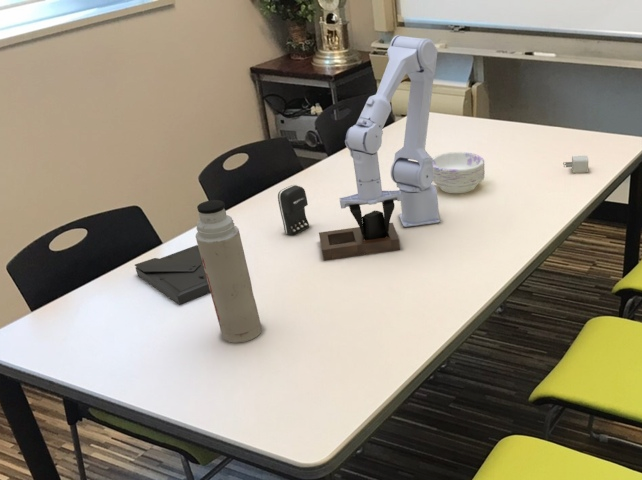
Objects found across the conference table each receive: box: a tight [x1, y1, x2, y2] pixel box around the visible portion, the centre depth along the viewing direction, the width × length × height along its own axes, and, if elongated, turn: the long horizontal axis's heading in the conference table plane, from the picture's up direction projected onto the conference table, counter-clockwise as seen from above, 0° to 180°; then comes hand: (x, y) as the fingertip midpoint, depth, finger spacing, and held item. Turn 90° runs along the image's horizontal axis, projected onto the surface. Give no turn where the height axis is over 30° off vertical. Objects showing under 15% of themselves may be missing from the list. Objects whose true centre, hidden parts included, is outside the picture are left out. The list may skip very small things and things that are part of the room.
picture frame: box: [134, 244, 211, 305], centre depth 184 cm, size 16×3×21 cm
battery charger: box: [277, 184, 310, 236], centre depth 200 cm, size 7×4×11 cm, turn 146°
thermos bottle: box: [195, 199, 263, 344], centre depth 155 cm, size 8×8×28 cm
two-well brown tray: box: [318, 222, 401, 261], centre depth 194 cm, size 18×10×3 cm, turn 104°
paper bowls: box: [432, 151, 486, 194], centre depth 221 cm, size 15×15×8 cm
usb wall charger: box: [562, 155, 589, 174], centre depth 229 cm, size 4×7×4 cm, turn 89°
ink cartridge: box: [362, 210, 386, 240], centre depth 193 cm, size 5×2×8 cm, turn 137°
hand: (374, 231), depth 194 cm, fingers closed on ink cartridge, 5 cm apart
